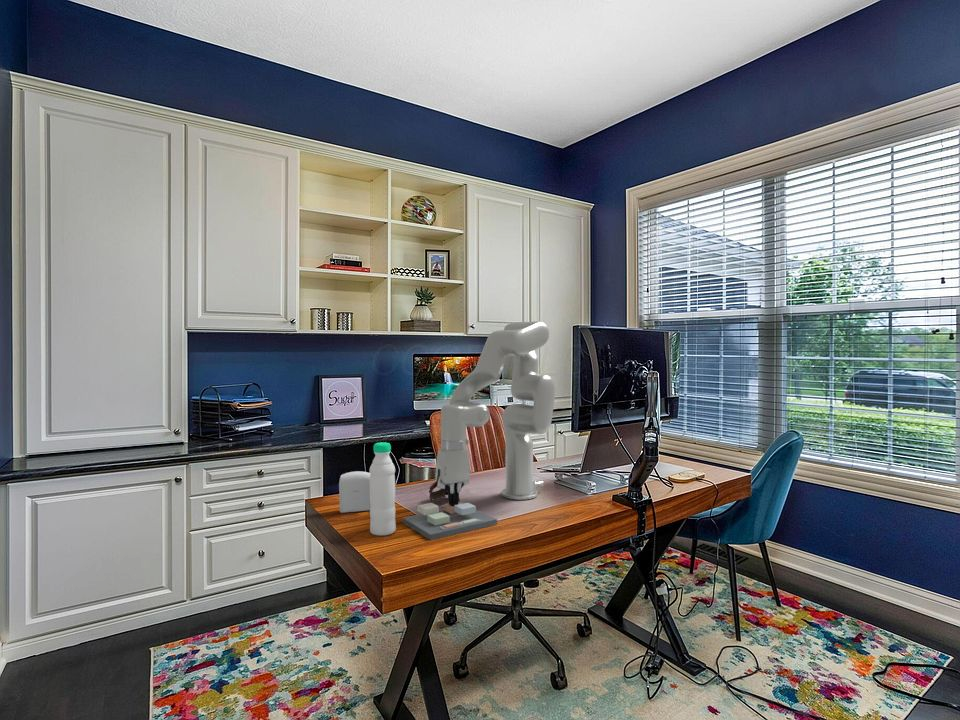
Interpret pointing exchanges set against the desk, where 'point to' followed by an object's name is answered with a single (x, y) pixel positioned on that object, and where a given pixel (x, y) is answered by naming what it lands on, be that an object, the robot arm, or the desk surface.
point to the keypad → (449, 524)
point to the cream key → (427, 508)
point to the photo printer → (354, 492)
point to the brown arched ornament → (437, 492)
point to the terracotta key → (449, 508)
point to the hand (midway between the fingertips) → (453, 505)
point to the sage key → (438, 518)
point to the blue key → (464, 508)
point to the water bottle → (382, 491)
